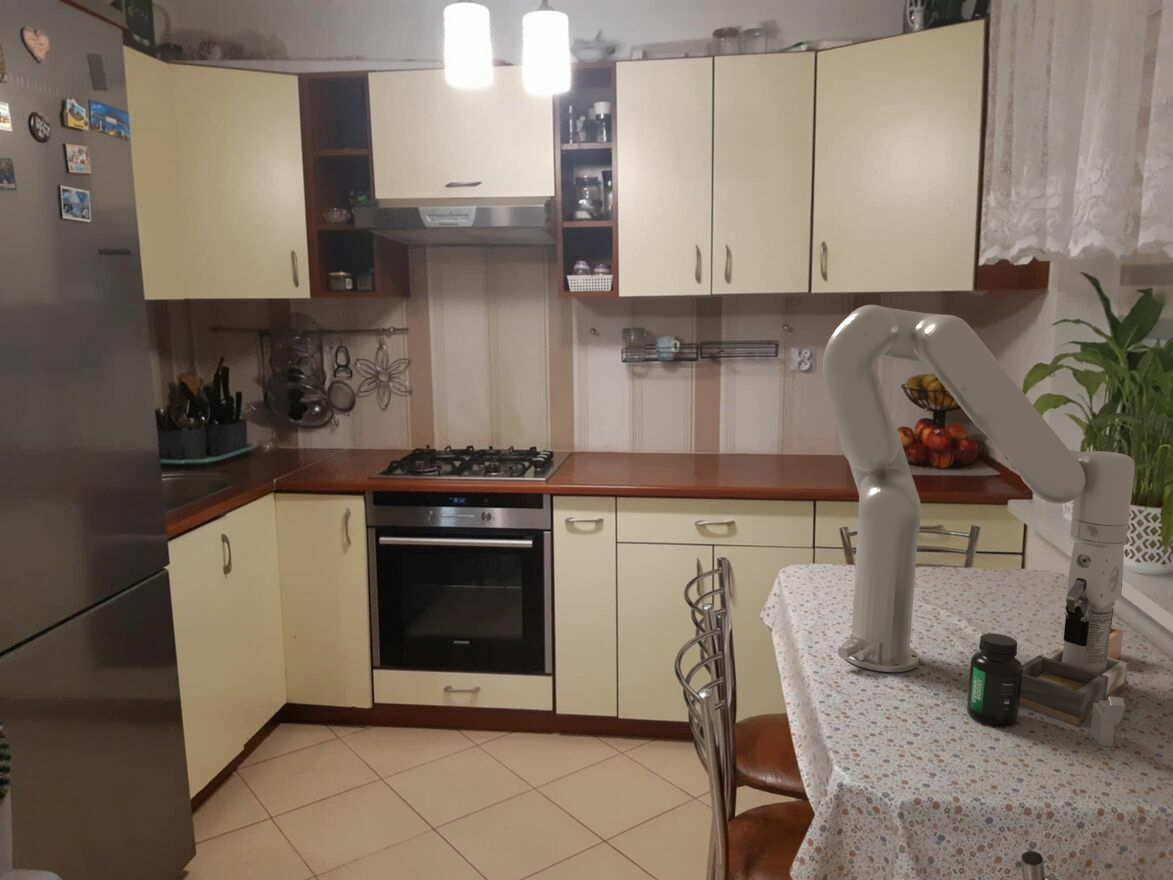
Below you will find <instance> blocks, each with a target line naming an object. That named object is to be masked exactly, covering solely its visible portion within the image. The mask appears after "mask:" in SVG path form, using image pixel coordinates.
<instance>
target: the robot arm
mask: <svg viewBox="0 0 1173 880" xmlns="http://www.w3.org/2000/svg"><path fill="white" fill-rule="evenodd" d="M881 358H887V359H894V360H900V361H907V362H913V363H921V364H926V366H928V368H929V369H930V370H931V371H932V373H933V374H934V375H935V377H936V378H937V379H938V380H939V381H940V383H941V384H942V385H943V386H944V388H945V389H946V390H947V392H949V394H950V395H951V396H952V399H954V401H955V402H956V403H957V405H958V406H959V407H960V408H961V410H962V411H963V412H964V413H965V414H966V416H967V417H968V418H969V419H970V420H971V422H972V423H973V424H974V425H975V426H976V427H977V428H978V429H979V430H980V431H981V432H982V433H983V434H984V435H986V436H987V437H988V438H989V439H990V440H991V441H992V443H994V445H996V447H997V448H998V449H999V451H1000V452H1001V453H1002V454H1003V455H1004V456H1005V458H1006V459H1007V460H1008V461H1009V463H1010V464H1011V465H1012V466H1013V468H1014V469H1015V470H1016V471H1017V472H1018V474H1019V476H1020V479H1021V481H1023V483H1024V484H1025V486H1027V487H1028V488H1029V490H1031V492H1033V494H1035V496H1036V497H1038V498H1039V499H1040V500H1041V501H1043V502H1046V503H1050V504H1057V505H1060V504H1066V503H1070V502H1072V501H1073V505H1072V514H1071V515H1072V516H1071V524H1070V532H1069V533H1070V534H1069V537H1070V539H1071V540H1073V546H1072V552H1071V557H1070V563H1069V567H1068V568H1069V570H1068V576H1067V585H1066V596H1065V602H1066V605H1065V607H1064V608H1065V613H1064V617H1065V620H1064V629H1063V630H1064V631H1063V642H1064V641H1066V642H1069V643H1073V644H1076V645H1080V646H1083V647H1084V646H1086V645H1087V641H1088V631H1089V621H1087V618H1088V616H1089V613H1090V611H1091V608H1092V606H1095V608H1096V609H1101V608H1104V607H1105V606H1107V605H1109V603H1110V602H1111V601H1113V607H1114V606H1115V602H1116V601H1118V600H1119V599H1120V598H1121V597H1122V593H1123V580H1124V579H1123V576H1124V555H1125V552H1124V551H1125V550H1124V546H1126V545H1127V539H1128V531H1129V522H1130V513H1131V504H1132V503H1131V502H1132V495H1133V487H1134V476H1135V470H1136V469H1135V466H1136V465H1135V461H1134V459H1133V458H1132V457H1131V456H1130V455H1128V454H1124V453H1119V452H1115V451H1114V452H1113V451H1101V450H1100V451H1099V450H1093V451H1082V450H1081V451H1079V450H1073V449H1069V448H1068V447H1067V446H1066V444H1065V443H1064V442H1063V440H1062V439H1061V438H1060V437H1059V436H1058V434H1057V433H1056V432H1055V430H1054V429H1053V428H1052V427H1051V426H1050V425H1049V423H1047V421H1046V420H1045V419H1044V418H1043V416H1042V415H1041V414H1040V412H1039V411H1038V410H1037V408H1035V407H1034V405H1033V404H1032V403H1031V401H1030V400H1029V398H1028V397H1027V395H1026V394H1025V393H1024V392H1023V391H1022V388H1021V387H1019V385H1018V384H1017V383H1016V381H1014V379H1013V378H1012V377H1011V376H1010V374H1009V373H1008V372H1007V371H1006V369H1005V368H1004V367H1003V366H1002V365H1001V363H1000V362H999V360H997V358H996V357H995V356H994V354H993V353H992V352H991V350H990V349H989V348H988V347H987V345H986V344H985V343H984V342H983V341H982V339H981V338H980V337H979V336H978V334H977V333H976V332H975V331H974V329H972V328H971V325H969V324H968V323H967V322H966V321H965V320H964V319H962V318H961V317H958V316H955V315H952V314H939V313H938V314H937V313H929V312H927V313H926V312H919V311H912V310H905V309H898V308H892V307H886V306H881V305H877V304H866V305H863V306H860V307H858V308H856V309H855V310H853V311H852V312H851V313H850V314H849V315H847V317H845V319H844V320H843V321H842V322H841V323H839V325H838V326H837V328H835V330H834V331H833V332H832V335H831V336H830V337H829V339H828V342H827V344H826V347H825V349H824V353H823V359H822V377H823V383H824V385H825V390H826V394H827V397H828V400H829V404H830V408H831V412H832V415H833V419H834V422H835V424H836V429H837V431H838V436H839V440H840V447H841V451H842V453H843V455H844V457H845V459H846V460H847V462H848V465H849V467H850V470H851V474H852V477H853V479H854V483H855V486H856V489H857V493H858V496H859V497H858V512H857V515H858V516H857V536H856V548H855V552H856V553H855V567H854V568H855V573H854V587H853V588H854V589H853V590H854V591H853V604H852V621H851V622H852V624H851V633H850V634H849V639H848V640H845V641H844V642H843V643H842V644H841V647H839V648H838V649H837V655H838V657H840V659H843V660H846V661H847V662H849V663H851V664H853V665H855V666H857V667H860V668H862V669H866V670H869V671H874V672H875V671H876V672H883V673H903V672H908V671H911V670H913V669H915V668H917V667H918V665H919V660H920V656H919V654H918V653H917V651H915V649H914V648H912V647H911V638H912V637H911V636H912V635H911V634H912V625H913V624H912V622H913V608H914V597H915V596H914V595H915V582H916V581H915V580H916V566H917V565H916V564H917V552H918V542H919V534H920V526H921V520H922V519H921V518H922V517H921V516H922V506H921V505H922V504H921V499H920V495H919V492H918V490H917V487H916V484H915V480H914V479H913V475H912V472H911V469H910V466H909V462H908V458H907V455H906V453H905V449H904V446H903V443H902V440H901V436H900V433H899V430H898V427H897V424H896V422H894V420H893V418H891V415H890V411H889V408H888V406H887V403H886V402H887V401H886V400H885V397H884V396H885V395H884V391H883V388H882V385H881V382H880V379H879V374H878V364H879V361H880V359H881ZM1085 589H1086V590H1085ZM1079 599H1084V600H1088V602H1087V601H1083V600H1079ZM1079 606H1082V607H1085V608H1084V610H1083V612H1082V610H1081V608H1080V607H1079ZM1113 615H1114V609H1113V610H1112V619H1111V627H1112V625H1113ZM1110 630H1111V628H1110Z"/></svg>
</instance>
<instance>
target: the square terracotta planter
mask: <svg viewBox="0 0 1173 880" xmlns="http://www.w3.org/2000/svg"><path fill="white" fill-rule="evenodd" d="M1123 637H1124V629H1121V628H1117V627H1114V626H1113V627H1112V626H1111V630H1110V637H1109V646H1108V654H1107V657H1110V658H1114V659H1117V660H1120V659H1121V655H1122V648H1123V647H1122V646H1123Z"/></svg>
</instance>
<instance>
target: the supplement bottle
mask: <svg viewBox="0 0 1173 880" xmlns="http://www.w3.org/2000/svg"><path fill="white" fill-rule="evenodd" d="M978 644H979V645H978V649H979V650H978V651H976V652H975V653H974V654H972V656H971V658H970V666H969V677H968V678H969V679H968V688H967V699H966V700H967V701H966V711H967V714H968V715H969V717H970V718H972V719H973V720H975V721H976V722H978V723H981V724H983V725H986V726H991V727H995V728H996V727H997V728H1008V727H1013V726H1014V725H1016V723H1017V722H1018V720H1019V713H1020V695H1021V684H1022V674H1023V666H1022V665H1023V664H1022V663H1021V660H1019V659H1018V658H1017V657H1016V656H1017V654H1018V649H1017V648H1018V642H1017V640H1016V639H1015V638H1013V637H1011V636H1009V635H1005V634H1001V633H993V632H991V633H990V632H989V633H983V634H981V636H980V638H979V643H978Z"/></svg>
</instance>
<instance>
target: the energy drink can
mask: <svg viewBox="0 0 1173 880" xmlns="http://www.w3.org/2000/svg"><path fill="white" fill-rule="evenodd" d="M1085 590H1086V589H1085ZM1079 600H1083V601H1087V602H1088V600H1084V599H1079ZM1079 607H1080V608H1081V610H1082V612H1083V610H1084V608H1085V607H1082V606H1079ZM1112 610H1113V611H1114V606H1113V601H1111V602H1110V603H1109V605H1107V606H1105V607H1104V608H1101V609H1096V608H1095V606H1092V608H1091V611H1090V613H1089V616H1088V618H1087V621H1089V631H1088V641H1087V645H1086V646H1084V647H1083V646H1080V645H1076V644H1073V643H1069V642H1066V641H1064V640H1063V645H1064V648H1063V657H1062V663H1065V664H1069V665H1072V666H1075V667H1078V668H1082V669H1085V670H1088V671H1091V672H1095V673H1098V674H1101V675H1102V674H1103V673H1105V672H1106V663H1107V654H1108V646H1109V637H1110V628H1111V627H1112V626H1111V619H1112V620H1113V617H1112Z"/></svg>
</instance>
